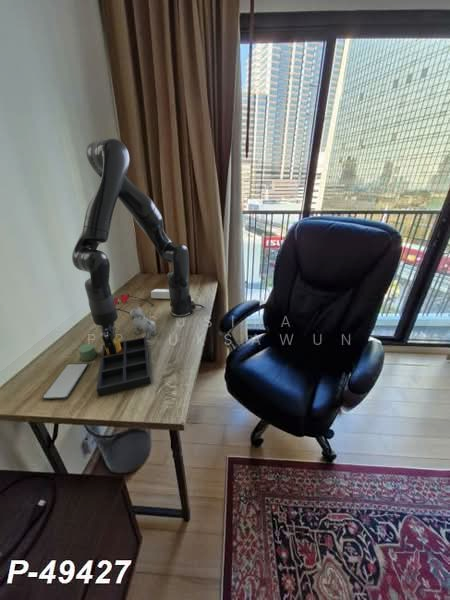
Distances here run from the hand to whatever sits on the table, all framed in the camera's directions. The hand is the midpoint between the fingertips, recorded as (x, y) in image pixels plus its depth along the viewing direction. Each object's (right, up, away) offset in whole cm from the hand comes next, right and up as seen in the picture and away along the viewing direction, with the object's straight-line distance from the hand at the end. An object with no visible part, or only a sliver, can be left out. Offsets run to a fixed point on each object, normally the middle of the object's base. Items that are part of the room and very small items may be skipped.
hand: (113, 348), depth 91 cm
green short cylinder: (-10, -3, +1) cm, 10 cm away
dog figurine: (+6, +4, +14) cm, 16 cm away
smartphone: (-11, -9, -9) cm, 17 cm away
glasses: (-6, +13, +33) cm, 36 cm away
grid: (+6, -5, -4) cm, 9 cm away
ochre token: (0, 0, 0) cm, 0 cm away
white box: (+8, +20, +45) cm, 50 cm away
